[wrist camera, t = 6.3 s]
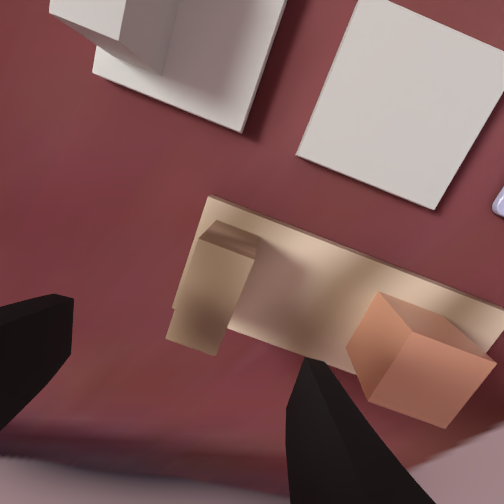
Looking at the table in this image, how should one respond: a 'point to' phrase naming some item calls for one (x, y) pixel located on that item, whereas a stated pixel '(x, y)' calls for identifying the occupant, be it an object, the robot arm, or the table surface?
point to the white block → (335, 87)
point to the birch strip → (299, 289)
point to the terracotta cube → (415, 361)
